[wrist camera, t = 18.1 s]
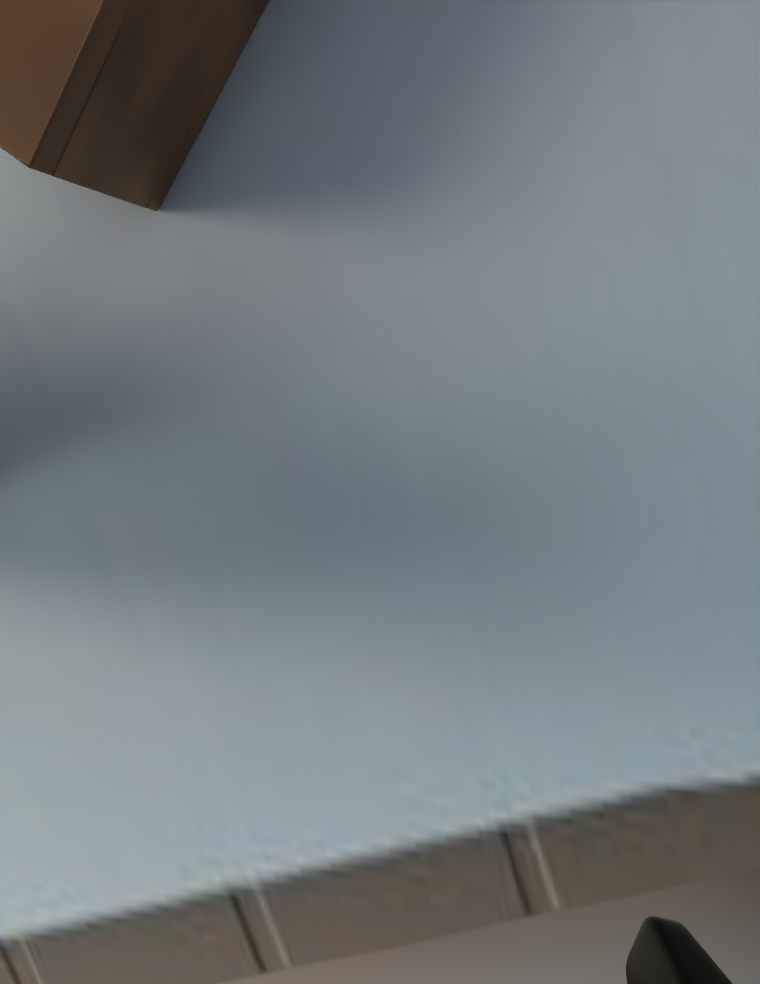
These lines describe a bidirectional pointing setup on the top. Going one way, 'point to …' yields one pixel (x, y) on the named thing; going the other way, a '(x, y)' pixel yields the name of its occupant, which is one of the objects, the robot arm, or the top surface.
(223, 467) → the top surface
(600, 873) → the top surface
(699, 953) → the robot arm
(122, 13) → the cabinet
